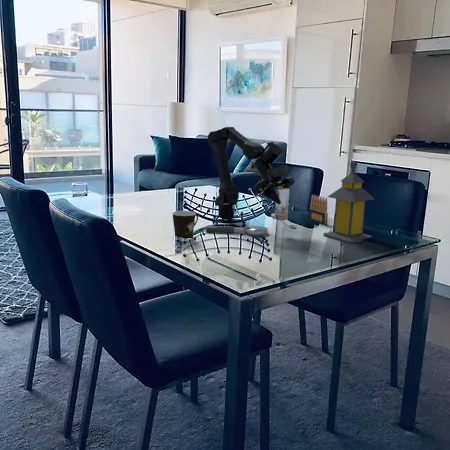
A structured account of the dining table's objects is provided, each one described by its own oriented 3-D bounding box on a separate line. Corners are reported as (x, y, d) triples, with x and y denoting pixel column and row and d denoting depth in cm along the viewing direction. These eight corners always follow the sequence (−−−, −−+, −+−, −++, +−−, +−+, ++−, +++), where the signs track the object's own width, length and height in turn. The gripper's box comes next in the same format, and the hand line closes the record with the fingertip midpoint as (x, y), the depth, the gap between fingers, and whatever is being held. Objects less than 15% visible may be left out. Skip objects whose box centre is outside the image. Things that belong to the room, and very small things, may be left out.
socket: (274, 220, 192) (276, 189, 189) (274, 217, 197) (275, 187, 194) (288, 220, 192) (290, 190, 189) (287, 217, 197) (289, 187, 194)
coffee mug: (177, 243, 181) (177, 216, 179) (169, 237, 188) (169, 211, 186) (206, 240, 186) (206, 214, 184) (196, 234, 194) (197, 209, 191)
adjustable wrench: (296, 230, 207) (296, 225, 206) (281, 230, 206) (281, 226, 206) (283, 216, 231) (283, 212, 231) (269, 216, 230) (269, 212, 230)
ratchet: (205, 234, 194) (205, 228, 194) (207, 228, 203) (207, 223, 202) (267, 236, 193) (268, 231, 192) (267, 231, 201) (267, 225, 201)
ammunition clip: (327, 224, 215) (329, 197, 212) (324, 225, 214) (326, 198, 211) (311, 219, 224) (313, 193, 221) (308, 220, 223) (309, 193, 220)
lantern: (322, 235, 196) (327, 160, 189) (344, 231, 205) (351, 158, 198) (350, 244, 186) (357, 164, 178) (373, 238, 194) (380, 162, 187)
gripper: (260, 159, 186) (280, 193, 180) (292, 157, 198) (312, 188, 192) (244, 177, 193) (263, 210, 188) (277, 174, 205) (295, 204, 200)
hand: (284, 203), depth 192 cm, fingers closed on socket, 5 cm apart
